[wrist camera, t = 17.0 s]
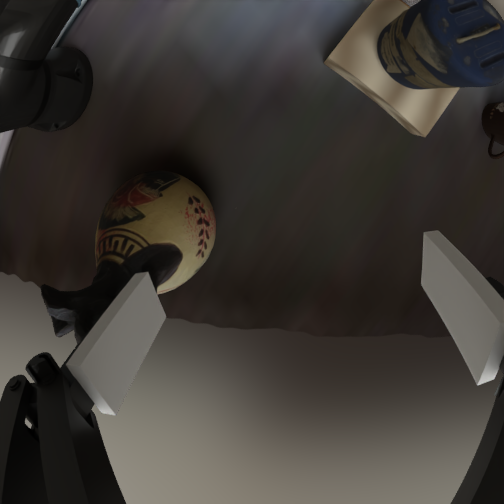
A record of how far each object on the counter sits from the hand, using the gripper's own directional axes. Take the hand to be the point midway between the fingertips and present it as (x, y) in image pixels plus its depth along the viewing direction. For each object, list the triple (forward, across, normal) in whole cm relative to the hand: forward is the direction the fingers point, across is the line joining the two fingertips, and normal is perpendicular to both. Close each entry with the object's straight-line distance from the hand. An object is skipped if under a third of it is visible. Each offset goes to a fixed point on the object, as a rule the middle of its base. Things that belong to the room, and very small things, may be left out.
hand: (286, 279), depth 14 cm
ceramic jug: (+32, -17, -4) cm, 36 cm away
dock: (+32, +18, +13) cm, 39 cm away
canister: (+27, +18, +13) cm, 35 cm away
